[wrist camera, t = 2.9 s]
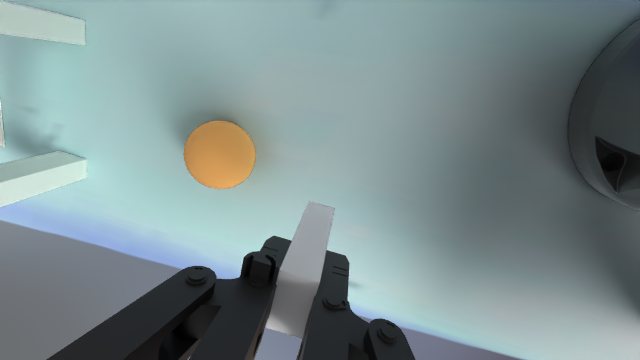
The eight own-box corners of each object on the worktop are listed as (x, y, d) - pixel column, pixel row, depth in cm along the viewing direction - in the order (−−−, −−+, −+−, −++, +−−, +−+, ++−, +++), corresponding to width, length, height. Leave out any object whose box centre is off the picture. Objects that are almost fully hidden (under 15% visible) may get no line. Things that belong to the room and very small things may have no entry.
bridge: (85, 20, 25) (-62, -14, 16) (87, 177, 30) (-26, 216, 21) (52, 11, 25) (-110, -27, 17) (60, 169, 30) (-63, 204, 21)
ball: (269, 126, 26) (246, 137, 21) (258, 184, 28) (234, 207, 22) (209, 109, 26) (171, 116, 21) (202, 168, 28) (165, 187, 23)
